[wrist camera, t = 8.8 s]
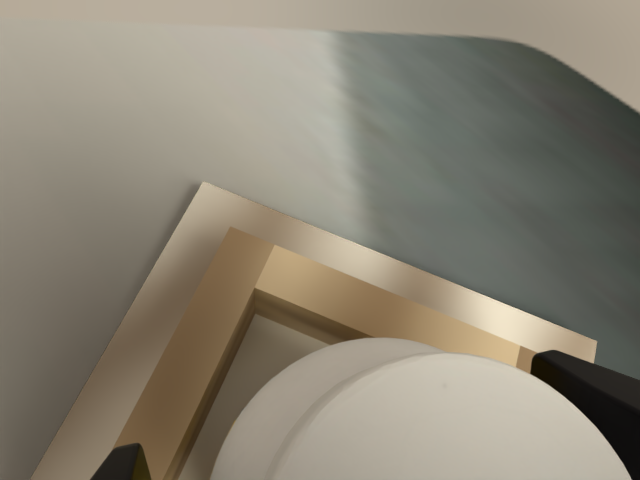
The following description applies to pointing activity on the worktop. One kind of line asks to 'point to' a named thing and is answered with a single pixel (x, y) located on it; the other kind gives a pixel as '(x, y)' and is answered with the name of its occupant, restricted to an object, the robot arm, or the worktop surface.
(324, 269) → the socket
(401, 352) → the pill bottle
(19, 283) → the worktop surface
